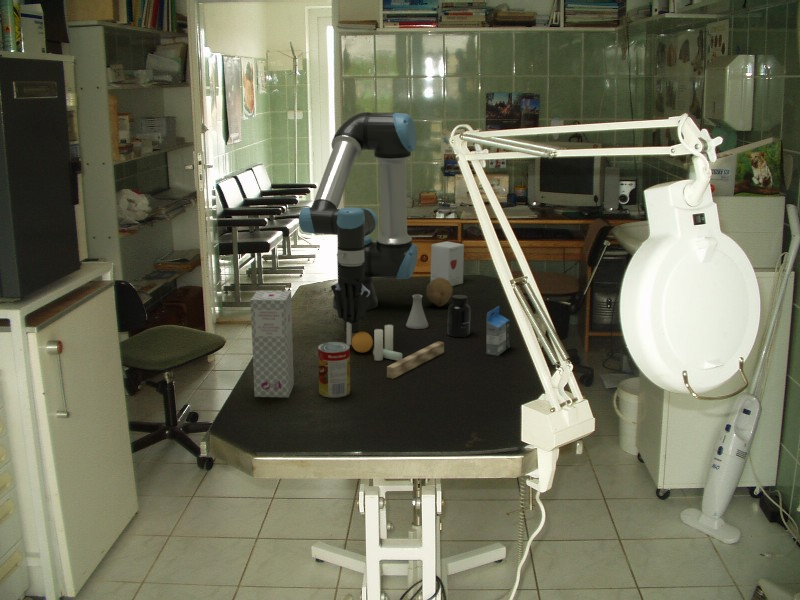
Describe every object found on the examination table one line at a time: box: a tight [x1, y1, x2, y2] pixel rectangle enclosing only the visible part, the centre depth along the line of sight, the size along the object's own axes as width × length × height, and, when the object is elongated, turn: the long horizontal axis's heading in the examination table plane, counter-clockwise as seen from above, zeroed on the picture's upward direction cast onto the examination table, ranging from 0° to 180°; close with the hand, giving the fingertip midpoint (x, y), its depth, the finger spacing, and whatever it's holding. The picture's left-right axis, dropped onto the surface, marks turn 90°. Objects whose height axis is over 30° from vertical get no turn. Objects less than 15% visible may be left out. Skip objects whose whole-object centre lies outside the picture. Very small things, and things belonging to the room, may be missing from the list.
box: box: [250, 290, 295, 398], centre depth 219 cm, size 8×8×25 cm
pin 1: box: [373, 328, 384, 362], centre depth 245 cm, size 2×2×8 cm
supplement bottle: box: [447, 294, 471, 338], centre depth 267 cm, size 7×7×12 cm
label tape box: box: [485, 305, 511, 357], centre depth 252 cm, size 9×4×12 cm, turn 151°
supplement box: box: [430, 241, 465, 287], centre depth 327 cm, size 9×9×15 cm
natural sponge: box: [425, 278, 454, 308], centre depth 297 cm, size 9×9×10 cm
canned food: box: [317, 341, 351, 399], centre depth 221 cm, size 8×8×12 cm
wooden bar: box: [386, 340, 445, 380], centre depth 242 cm, size 26×2×3 cm, turn 146°
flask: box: [405, 294, 429, 330], centre depth 275 cm, size 7×7×10 cm
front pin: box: [372, 348, 403, 362], centre depth 247 cm, size 2×2×8 cm
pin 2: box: [384, 324, 394, 351], centre depth 249 cm, size 2×2×8 cm
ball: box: [351, 331, 374, 353], centre depth 251 cm, size 6×6×6 cm
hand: (351, 343), depth 253 cm, fingers closed
